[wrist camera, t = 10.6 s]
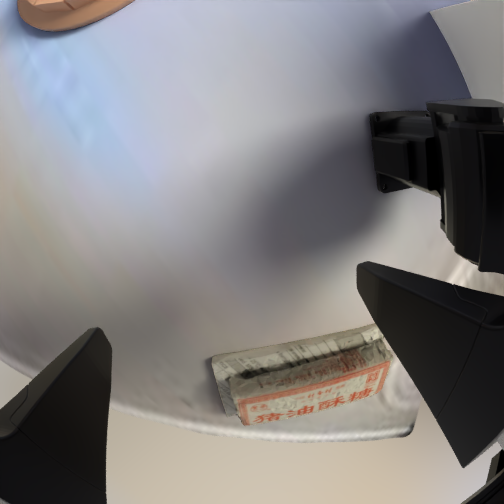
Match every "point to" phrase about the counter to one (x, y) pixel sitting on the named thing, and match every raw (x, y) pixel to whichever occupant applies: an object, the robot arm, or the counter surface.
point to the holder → (66, 12)
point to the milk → (476, 44)
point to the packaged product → (302, 375)
